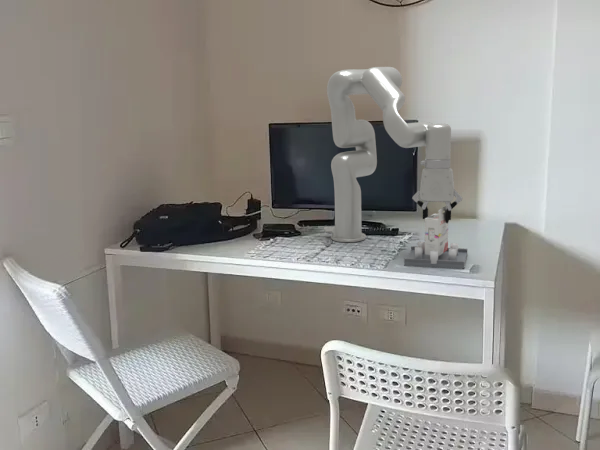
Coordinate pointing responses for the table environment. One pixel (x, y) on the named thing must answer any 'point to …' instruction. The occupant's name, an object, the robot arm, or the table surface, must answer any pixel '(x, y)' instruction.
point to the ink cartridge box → (436, 232)
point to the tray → (440, 259)
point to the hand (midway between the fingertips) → (436, 221)
